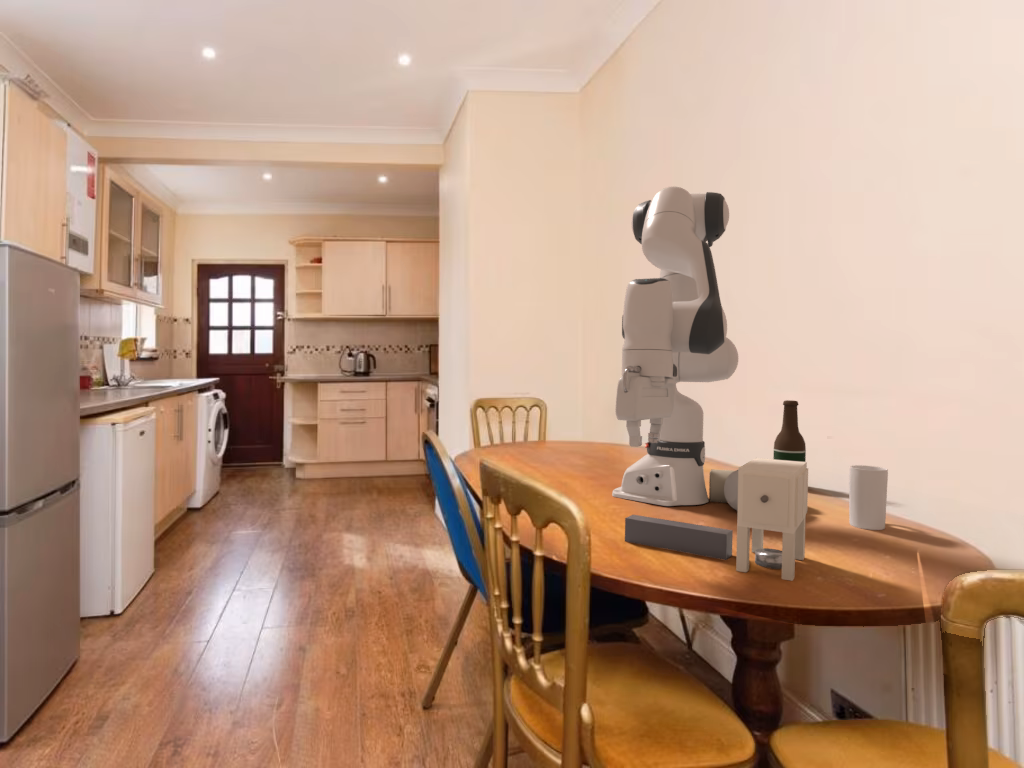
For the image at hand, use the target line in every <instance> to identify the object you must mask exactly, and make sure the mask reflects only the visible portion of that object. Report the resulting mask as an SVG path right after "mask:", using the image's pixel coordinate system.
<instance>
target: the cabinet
mask: <svg viewBox="0 0 1024 768" xmlns="http://www.w3.org/2000/svg"><path fill="white" fill-rule="evenodd" d="M807 466H808V461H805V462H799V461H787V460H775V459H773V458H772V459H771V458H761V457H755V458H753V459H751V460H750V461H748V462H746V463H745V464H743V465H741V466H739V467H738V469H737V470H738V511H737V510H736V512H737V514H736V516H737V518H736V519H737V521H736V523H737V525H736V557H735V558H736V562H735V563H736V567H735V568H736V569H735V572H741V573H747V572H748V571H750V545H751V553H754V554H755V550H757V549H762V548H764V532H765V531H770V532H771V531H772V532H778V533H782V541H781V542H782V543H781V545H782V546H781V547H782V548H781V549H782V550H781V551H782V569H781V580H786V581H790V582H791V581H794V579H795V575H796V574H795V573H796V571H795V568H796V567H795V566H796V560H798V561H799V560H800V561H804V558H805V553H806V552H805V548H806V514H807V513H808V503H809V502H808V498H809V497H808V496H809V495H808V494H809V493H808V492H809V491H808V490H809V468H808V467H807ZM750 541H751V544H750Z"/></svg>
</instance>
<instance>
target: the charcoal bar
mask: <svg viewBox="0 0 1024 768" xmlns="http://www.w3.org/2000/svg"><path fill="white" fill-rule="evenodd" d="M733 534H734V533H733V529H728V528H720V527H714V526H707V525H702V524H701V525H700V524H695V523H690V522H689V523H688V522H682V521H677V520H671V519H664V518H659V517H658V518H657V517H650V516H645V515H638V514H631V515H629V516H627V517H625V518H624V542H627V543H631V544H636V545H637V544H638V545H642V546H643V545H644V546H648V547H653V548H659V549H664V550H670V551H676V552H681V553H686V554H692V555H695V556H696V555H697V556H701V557H702V556H703V557H707V558H712V559H718V560H722V561H727V560H728V559H730V558H731V557H732V556H733Z"/></svg>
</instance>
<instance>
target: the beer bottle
mask: <svg viewBox="0 0 1024 768" xmlns="http://www.w3.org/2000/svg"><path fill="white" fill-rule="evenodd" d="M798 401H799V400H793V399H792V400H789V399H788V400H787V399H786V400H784V401H783V403H782V405H783V411H782V412H783V415H782V426H781V430H780V432H779V433H778V434H777V436H776V437H775V440H774V443H773V458H772V459H775V460H787V461H799V462H807V461H806V455H807V453H806V451H807V450H806V449H807V448H806V441H805V439H804V436H803V435H802V434H801V432H800V429H799V417H798V406H799V402H798Z"/></svg>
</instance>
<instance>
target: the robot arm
mask: <svg viewBox="0 0 1024 768" xmlns="http://www.w3.org/2000/svg"><path fill="white" fill-rule="evenodd" d="M729 219H730V209H729V205H728V203H727V201H726V199H725V196H724V195H722V193H720V192H712V191H707V192H705V193H690V192H689V191H688V190H686V189H685V188H682V187H680V186H668V187H665V188H663V189H660V190H659V191H658V192H657V193H655V195H654V196H653V198H652V199H648V200H645V201H643V202H640V203H639V204H638V205H637V206H636V207H635V208H634V210H633V212H632V218H631V229H632V234H633V235H634V239H635V240H636V241H637V242H638V244H640V245H641V249H642V250H641V251H642V253H643V255H644V257H645V259H647V261H648V262H650V263H651V265H653V266H654V267H655V268H658V269H660V270H659V271H660V272H659V277H653V278H650V277H649V278H635V279H632V280H630V281H629V282H627V286H626V290H625V297H624V302H623V314H622V317H621V336H622V339H624V343H623V345H622V349H621V350H622V351H621V377H620V378H619V379H618V383H617V387H616V397H615V398H616V399H615V416H616V418H617V420H618V421H626V429H627V430H626V431H627V433H628V439H629V441H628V444H629V446H630V447H631V448H632V447H633V448H635V447H636V448H638V447H642V445H643V436H641V426H642V421H646V420H649V424H650V428H649V432H647V434H648V435H647V437H648V439H647V442H645V443H644V445H645V446H644V448H646V452H647V453H646V454H645V455H644V456H642V457H641V458H640V459H638V460H637V461H636V462H634V463H632V464H631V465H629V466H628V467H627V468H626V470H625V471H624V474H623V476H622V480H621V486H619V487H616V488H614V489H613V490H612V494H611V495H612V497H614V498H619V499H624V500H625V499H626V500H631V501H635V502H640V503H641V502H642V503H645V504H646V503H648V504H653V505H658V506H664V507H674V506H696V505H697V506H698V505H704V504H706V503H709V501H710V500H709V495H708V493H707V487H706V486H707V485H706V481H705V472H704V465H705V462H706V446H705V445H706V443H705V441H704V410H703V407H702V405H700V404H699V403H698V401H696V400H694V399H692V398H690V397H689V396H686V395H684V394H682V393H681V392H680V391H679V390H678V388H677V384H678V383H682V382H683V383H712V382H713V383H714V382H719V381H724V380H728V379H730V378H731V377H732V376H733V375H734V373H735V372H736V371H737V368H738V365H739V352H738V349H737V347H736V346H735V344H734V343H733V341H732V340H731V339H730V338H728V337H727V333H728V322H727V321H728V320H727V316H726V313H725V310H724V307H723V306H722V302H721V296H720V291H719V284H718V279H717V278H718V277H717V272H716V266H715V263H714V259H713V258H714V257H713V254H712V250H711V247H712V246H713V245H714V242H716V241H717V240H719V239H720V238H721V237H722V236H723V235H724V233H725V232H726V230H727V225H728V223H729Z"/></svg>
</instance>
